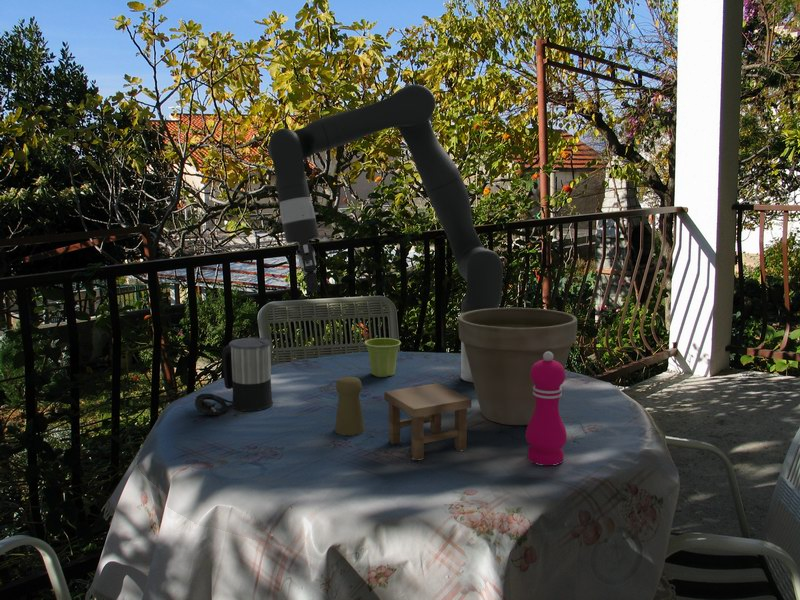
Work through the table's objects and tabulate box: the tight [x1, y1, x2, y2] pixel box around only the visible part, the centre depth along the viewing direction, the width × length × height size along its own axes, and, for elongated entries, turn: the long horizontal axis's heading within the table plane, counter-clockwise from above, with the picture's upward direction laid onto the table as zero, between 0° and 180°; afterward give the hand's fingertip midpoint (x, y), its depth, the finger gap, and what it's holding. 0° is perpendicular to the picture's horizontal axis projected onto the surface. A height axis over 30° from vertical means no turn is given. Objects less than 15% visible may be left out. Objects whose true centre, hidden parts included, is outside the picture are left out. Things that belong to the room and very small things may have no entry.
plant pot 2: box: [457, 307, 578, 426], centre depth 148 cm, size 25×25×22 cm
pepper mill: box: [525, 351, 568, 465], centre depth 124 cm, size 7×7×20 cm
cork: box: [334, 376, 366, 436], centre depth 140 cm, size 6×6×11 cm
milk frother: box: [194, 337, 274, 416], centre depth 154 cm, size 14×16×15 cm
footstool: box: [383, 382, 472, 461], centre depth 131 cm, size 12×12×10 cm
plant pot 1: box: [364, 337, 402, 378], centre depth 181 cm, size 9×9×9 cm
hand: (313, 290), depth 157 cm, fingers open, 8 cm apart
